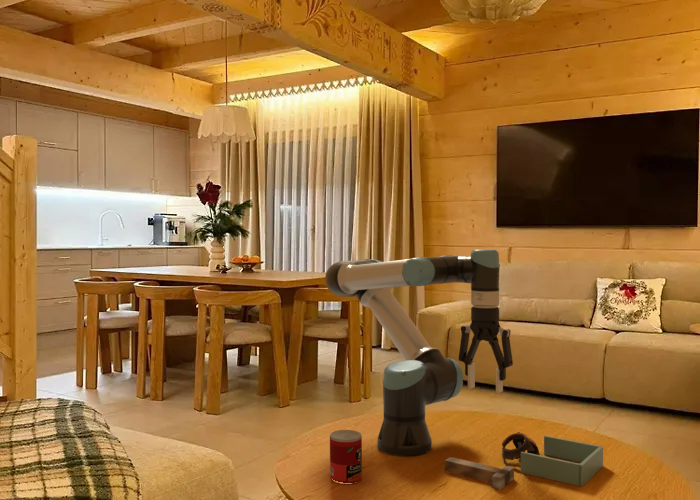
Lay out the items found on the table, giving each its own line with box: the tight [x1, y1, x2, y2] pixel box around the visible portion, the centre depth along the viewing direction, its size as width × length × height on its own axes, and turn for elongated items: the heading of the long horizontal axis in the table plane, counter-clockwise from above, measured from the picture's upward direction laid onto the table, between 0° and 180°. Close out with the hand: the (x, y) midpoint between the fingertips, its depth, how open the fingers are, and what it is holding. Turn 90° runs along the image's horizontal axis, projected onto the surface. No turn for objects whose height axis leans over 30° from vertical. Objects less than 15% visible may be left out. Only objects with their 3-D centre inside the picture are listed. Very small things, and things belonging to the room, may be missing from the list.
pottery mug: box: [501, 431, 541, 462], centre depth 171 cm, size 12×10×8 cm
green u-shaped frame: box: [520, 435, 604, 487], centre depth 164 cm, size 15×17×5 cm
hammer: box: [444, 456, 515, 490], centre depth 160 cm, size 16×8×3 cm, turn 53°
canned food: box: [329, 429, 363, 484], centre depth 159 cm, size 8×8×11 cm
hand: (485, 389), depth 177 cm, fingers open, 8 cm apart
